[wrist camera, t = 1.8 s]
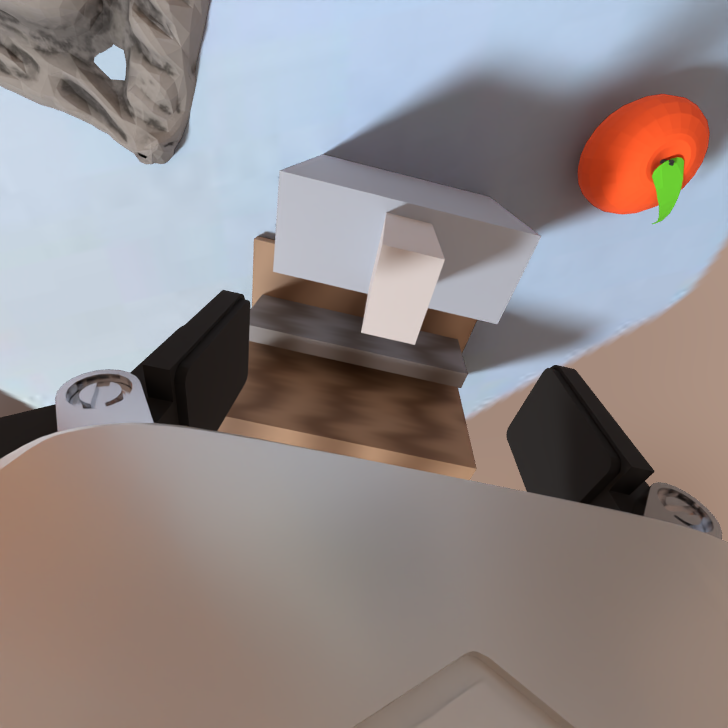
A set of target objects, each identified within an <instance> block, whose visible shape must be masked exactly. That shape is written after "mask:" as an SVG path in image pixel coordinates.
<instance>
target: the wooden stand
mask: <svg viewBox="0 0 728 728" xmlns="http://www.w3.org/2000/svg"><path fill="white" fill-rule="evenodd" d="M274 250H275V240H272V239H268V238H264V237H259V236H257V237H256V238H255V239H254V256H253V290H252V308H251V309H250V329H249V360H248V376H247V380H246V383H245V385H244V386H243V388H242V390H241V392H240V393H239V395H238V397H237V398H236V400H235V402H234V404H233V405H232V407H231V409H230V410H229V412H228V414H227V415H226V417H225V419H224V421H223V422H222V424H221V426H220V427H219V429H218V431H219V432H225V433H231V434H237V435H243V436H248V437H253V438H258V439H263V440H268V441H273V442H279V443H284V444H289V445H294V446H299V447H304V448H309V449H315V450H320V451H325V452H330V453H335V454H340V455H345V456H350V457H355V458H360V459H365V460H370V461H375V462H380V463H385V464H390V465H395V466H400V467H405V468H410V469H415V470H420V471H425V472H430V473H435V474H440V475H445V476H450V477H455V478H460V479H465V480H470V479H471V477H472V475H473V474H474V472H475V471H476V464H475V460H474V456H473V451H472V447H471V443H470V439H469V434H468V430H467V425H466V421H465V417H464V412H463V408H462V404H461V399H460V395H459V391H458V388H461V387H462V385H463V383H464V381H465V379H466V377H467V375H468V373H467V370H466V366H465V363H464V359H463V356H462V352H463V350H464V348H465V346H466V343H467V341H468V339H469V337H470V335H471V332H472V330H473V328H474V326H475V324H476V321H477V319H473V318H468V317H464V316H460V315H456V314H451V313H447V312H443V311H439V310H434V309H430V308H428V309H427V312H426V314H425V317H424V320H423V323H422V326H421V329H420V331H419V334H418V337H417V340H416V343H415V345H413V344H409V343H404V342H400V341H396V340H391V339H387V338H383V337H378V336H374V335H369V334H365V333H361V330H362V325H363V319H364V313H365V307H366V302H367V296H368V294H366V293H362V292H358V291H353V290H349V289H345V288H341V287H336V286H332V285H328V284H323V283H319V282H315V281H311V280H306V279H302V278H298V277H294V276H289V275H285V274H281V273H277V272H273V265H274Z"/></svg>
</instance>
